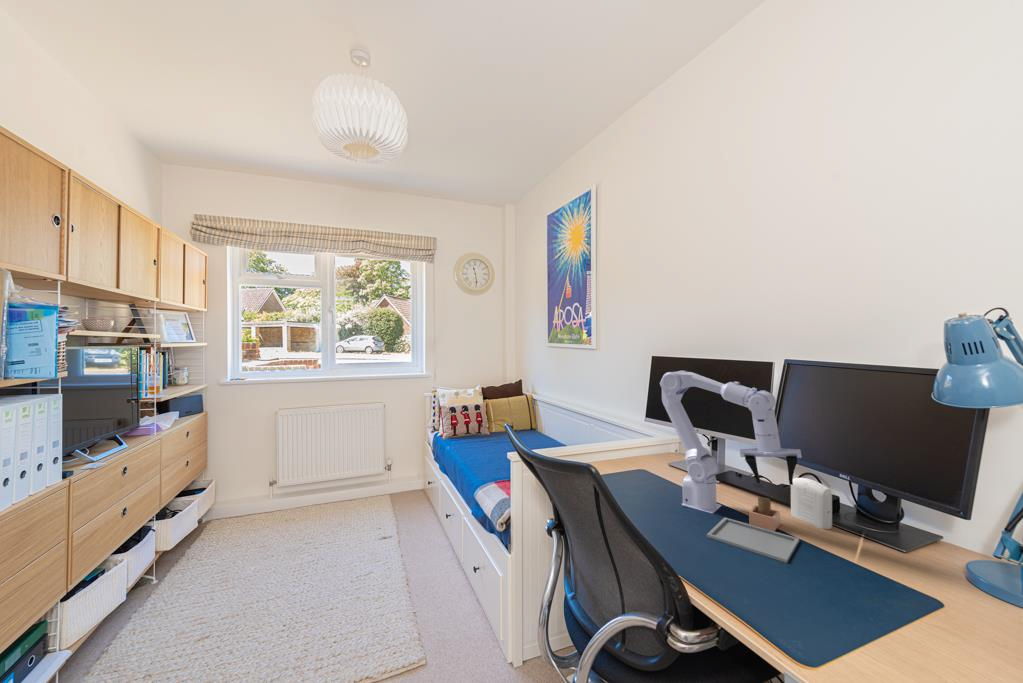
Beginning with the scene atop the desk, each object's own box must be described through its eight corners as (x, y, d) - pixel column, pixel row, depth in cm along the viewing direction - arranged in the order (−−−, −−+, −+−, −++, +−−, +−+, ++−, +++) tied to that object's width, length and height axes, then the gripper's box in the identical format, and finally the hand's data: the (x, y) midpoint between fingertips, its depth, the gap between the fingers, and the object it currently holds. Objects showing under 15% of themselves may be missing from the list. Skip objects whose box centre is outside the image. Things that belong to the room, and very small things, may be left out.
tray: (706, 538, 106) (706, 534, 106) (724, 521, 116) (724, 517, 116) (786, 565, 93) (786, 559, 93) (799, 543, 103) (799, 538, 103)
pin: (757, 523, 113) (756, 499, 113) (760, 520, 115) (759, 496, 115) (769, 527, 111) (768, 502, 111) (772, 523, 113) (771, 499, 113)
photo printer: (835, 529, 110) (834, 485, 110) (824, 532, 109) (823, 487, 109) (798, 514, 120) (798, 473, 120) (788, 516, 119) (787, 475, 119)
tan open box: (749, 525, 113) (749, 511, 113) (755, 518, 117) (755, 505, 117) (774, 532, 109) (774, 518, 109) (780, 525, 113) (779, 511, 113)
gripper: (736, 436, 113) (744, 485, 112) (798, 436, 105) (807, 488, 104) (738, 432, 119) (745, 478, 118) (796, 431, 111) (805, 481, 110)
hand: (774, 483), depth 111 cm, fingers open, 7 cm apart
